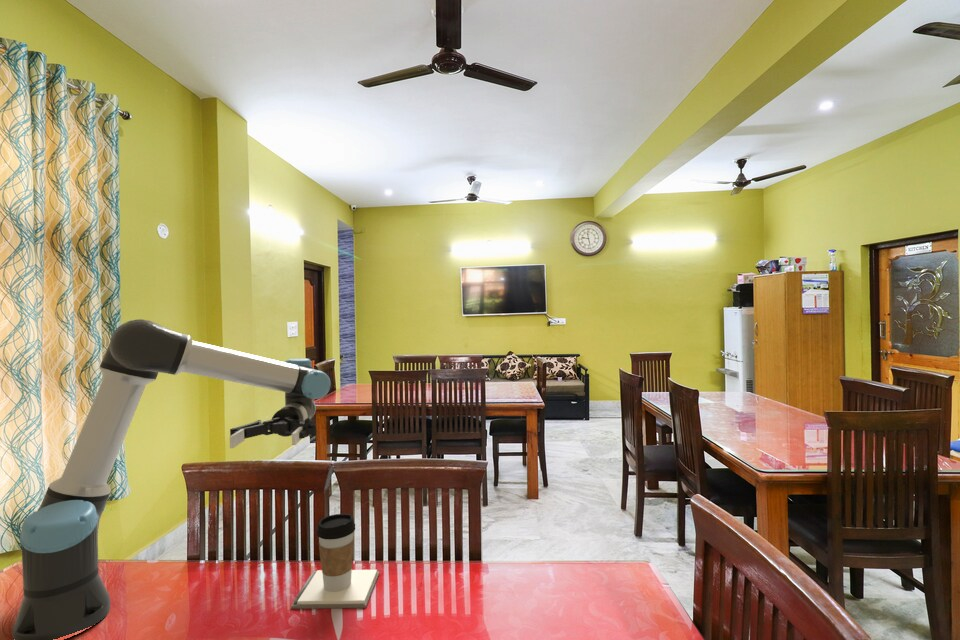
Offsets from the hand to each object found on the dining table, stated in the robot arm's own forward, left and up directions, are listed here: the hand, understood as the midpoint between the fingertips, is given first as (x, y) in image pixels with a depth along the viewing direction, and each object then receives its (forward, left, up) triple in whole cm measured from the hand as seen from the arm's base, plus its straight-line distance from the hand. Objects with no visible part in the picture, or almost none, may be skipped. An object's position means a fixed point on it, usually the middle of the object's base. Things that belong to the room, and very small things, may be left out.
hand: (262, 440), depth 108 cm
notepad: (+11, +13, -34) cm, 38 cm away
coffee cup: (+11, +13, -33) cm, 37 cm away
